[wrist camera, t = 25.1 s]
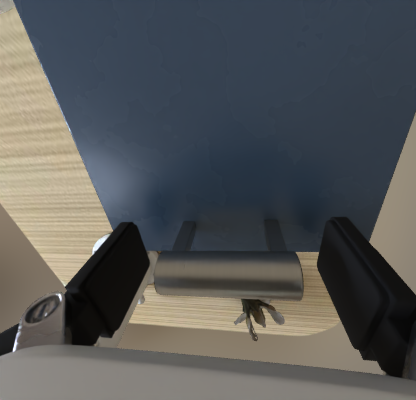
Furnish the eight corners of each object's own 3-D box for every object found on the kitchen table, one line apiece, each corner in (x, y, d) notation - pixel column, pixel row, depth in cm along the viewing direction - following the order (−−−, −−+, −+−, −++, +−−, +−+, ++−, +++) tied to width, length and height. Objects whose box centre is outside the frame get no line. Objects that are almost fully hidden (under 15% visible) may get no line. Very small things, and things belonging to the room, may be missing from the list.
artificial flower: (265, 205, 28) (305, 262, 20) (262, 289, 41) (285, 343, 33) (205, 218, 28) (220, 282, 20) (221, 299, 41) (234, 357, 33)
